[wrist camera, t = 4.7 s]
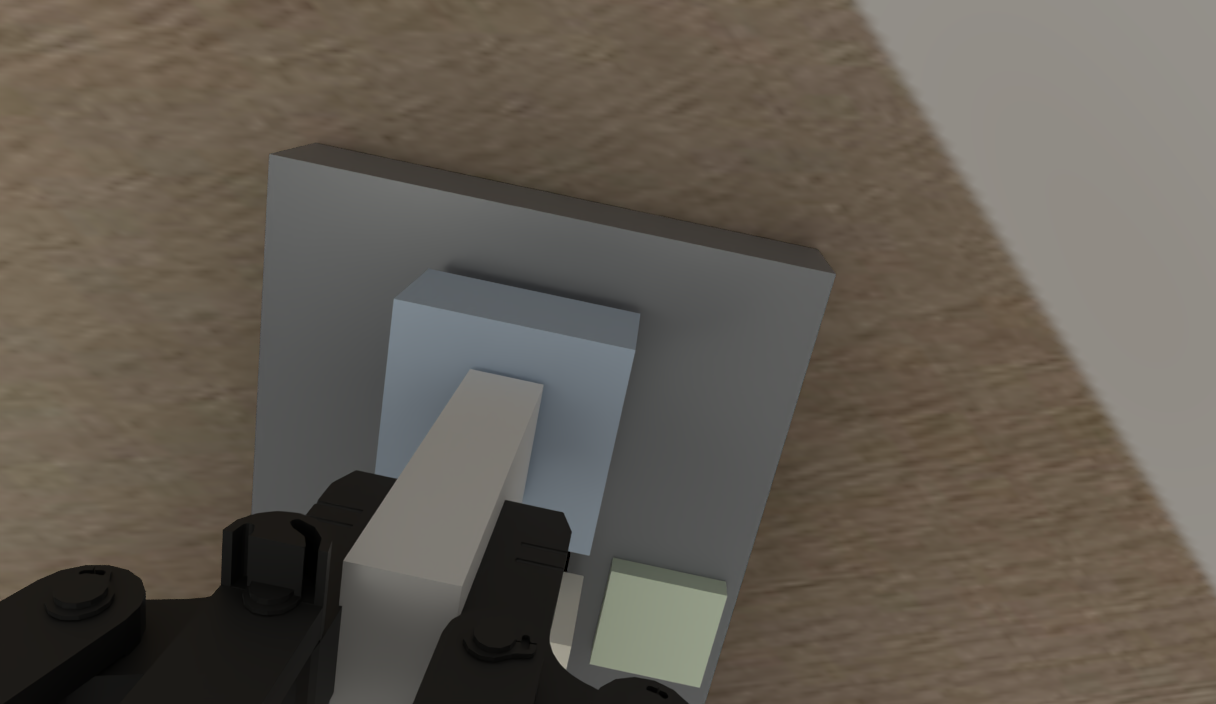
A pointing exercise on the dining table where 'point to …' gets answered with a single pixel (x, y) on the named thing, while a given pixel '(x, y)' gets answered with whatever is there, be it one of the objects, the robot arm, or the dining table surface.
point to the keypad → (655, 397)
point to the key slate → (522, 349)
